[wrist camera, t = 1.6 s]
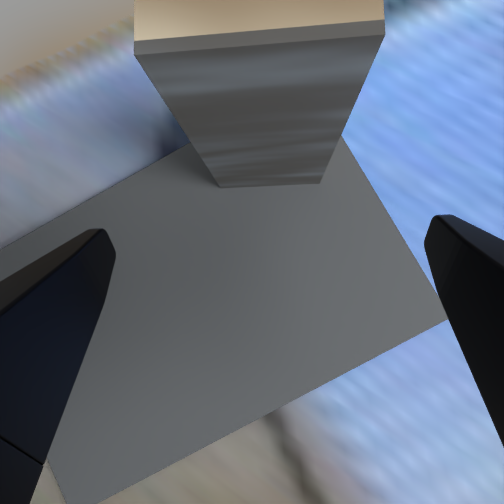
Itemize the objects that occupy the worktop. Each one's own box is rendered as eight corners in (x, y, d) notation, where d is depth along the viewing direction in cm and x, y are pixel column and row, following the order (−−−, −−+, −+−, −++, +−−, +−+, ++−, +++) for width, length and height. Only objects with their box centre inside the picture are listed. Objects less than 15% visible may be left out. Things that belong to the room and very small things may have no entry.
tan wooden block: (319, 183, 21) (385, 34, 8) (220, 188, 22) (134, 54, 9) (317, 138, 21) (379, -76, 8) (220, 144, 22) (134, -50, 9)
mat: (445, 316, 20) (450, 317, 20) (77, 509, 21) (72, 516, 21) (305, 82, 22) (306, 77, 22) (-27, 269, 23) (-35, 269, 23)
